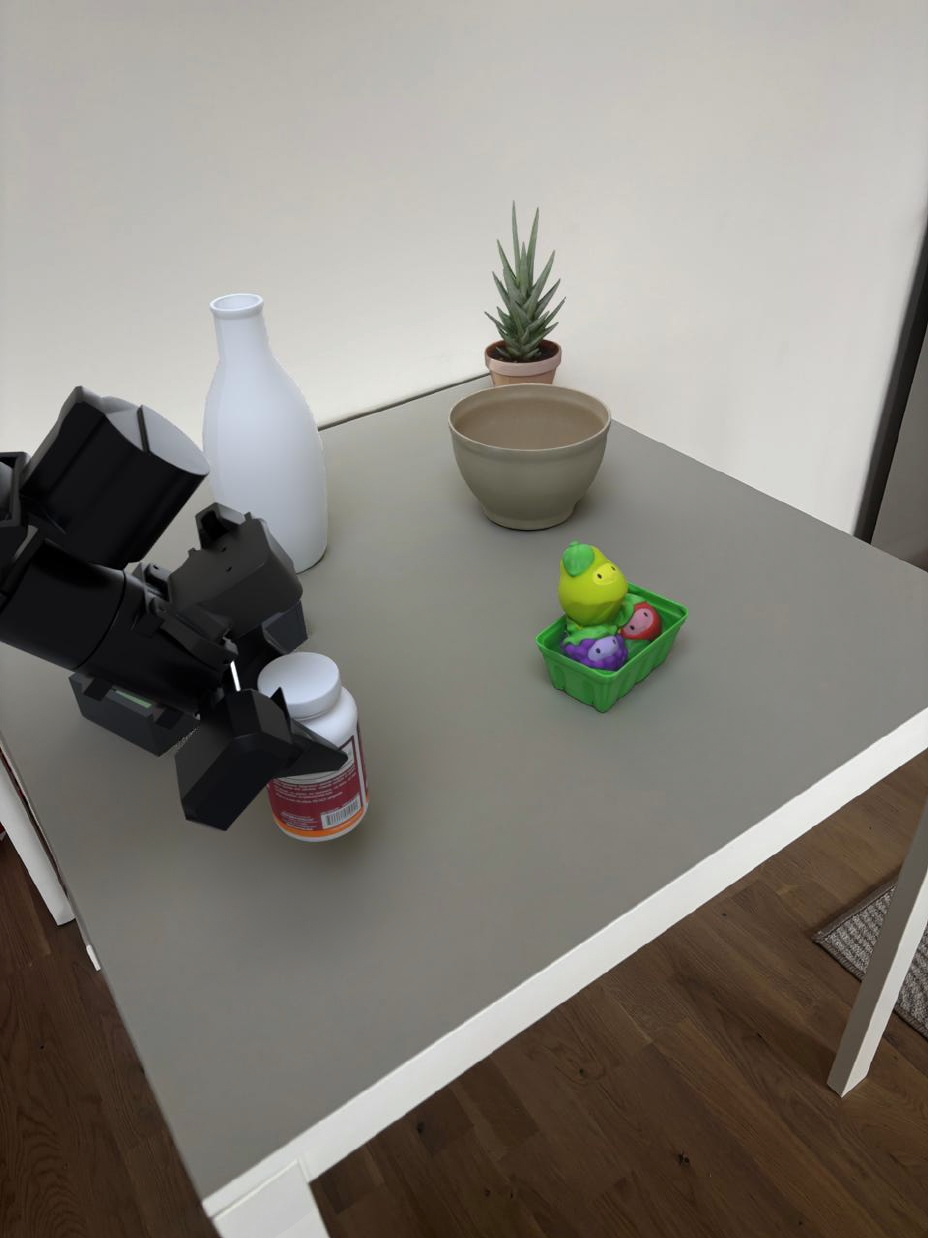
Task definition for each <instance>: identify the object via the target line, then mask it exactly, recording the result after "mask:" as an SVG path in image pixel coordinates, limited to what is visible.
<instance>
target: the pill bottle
mask: <svg viewBox="0 0 928 1238" xmlns="http://www.w3.org/2000/svg"><path fill="white" fill-rule="evenodd" d="M337 665H338V664H336V663H335V661H333V660H332V658H330V657H328V656H326V655H323V654H321V653H318V652H310V651H300V652H292V653H289V654H288V655H284V656H282V657H279V658H277V659H275V660H273V661H272V662H270V663H269V664H268V665H267V666H265V667H264V669H263V670H262V671H261V673H260V675H259V678H258V690H259V692H260V693H262V694H264V695H266V696H268V697H269V698H270V697H271V696H272V695H273V694H274V692H275V691H276V690H277V689H278V688H279V687H281V688H282V689H283V693H284V696H285V699H286V703H287V706H288V709H289V713H290V716H291V718H293V719H294V720H296V721H297V722H299V723H301V724H302V725H304V726H306V727H307V728H309V729H310V730H312V731H314V732H315V733H317V734H319V735H320V736H322V737H324V738H325V739H327V740H328V741H330V742H332V743H333V744H334V745H336V746H337V747H339V748H340V749H341V750H343V751H344V752H346V753H347V755H348V761H347V762H346V763H345V764H344V765H343V766H342V767H341V769H339V770H337V771H331V772H323V773H316V774H308V775H300V776H292V777H284V778H278V779H272V780H270V782H269V783H268V784H267V785H266V786H265V787H266V790H267V796H268V799H269V806H270V809H271V813H272V816H273V819H274V821H275V823H276V824H277V826H278V827H279V829H280V830H281V831H282V832H283V833H284V834H285V835H287V836H289V837H291V838H292V839H297V840H299V841H302V842H303V841H304V842H313V843H315V842H317V843H318V842H319V843H320V842H325V841H326V842H327V841H330V840H335V839H337V838H339V837H341V836H344V835H346V834H347V833H349V832H350V831H352V830H354V828H356V827H357V826H358V825H359V824H360V823H361V821H363V818H364V816H365V815H366V813H367V810H368V807H369V802H370V795H369V794H370V793H369V785H368V783H369V782H368V775H367V770H366V763H365V762H366V761H365V755H364V749H363V748H364V747H363V743H362V742H363V741H362V735H361V734H362V733H361V728H360V727H361V726H360V720H359V719H360V718H359V713H358V708H357V703H356V700H355V699H354V697H353V695H352V694H351V693H350V692H349V690H348V689H347V688H346V687H344V686H343V685H342V680H341V675H340V669H339V667H338V666H337Z"/></svg>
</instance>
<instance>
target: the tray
mask: <svg viewBox="0 0 928 1238" xmlns="http://www.w3.org/2000/svg"><path fill="white" fill-rule="evenodd" d="M262 627H263V628H264V629H265V630H266V631H267V632H268V633H269V634H270V635H271V636H272V637H273V638H274V639H275V640H276V641H277V642H278V643H279V644H280V645H281V646H282V647H283V648H284V649H285V650H286V651H287V652H288V653H289V654H291V652H292V651H293V650H295V649H296V648H297V647H298V646H300V645H301V644H302V643H303V642H305V641H306V640H307V639H308V633H307V632H308V631H307V627H306V621H305V613H304V608H303V604H302V600H301V599H300V600H299V601H298V603H297V604H296V605H295V606H294V607H292V608H291V609H289V610H288V611H286V612H284V613H277V614H275V615H274V616H272V617H271V618H269V619H268V620H266V621H264V622H263V623H262ZM68 681H69V683H70V686H71V689H72V692H73V695H74V697H75V700H76V703H77V705H78V708H79V710H80V714H81V716H82V717H83V718H86V719H87V720H89V721H91V722H93V723H95V724H97V725H98V726H100V727H103V728H104V729H106V730H107V731H110V732H111V733H113V734H115V735H117V736H119V737H121V738H122V739H125V740H126V741H129V742H130V743H132V744H134V745H136V746H137V747H140V748H142V749H143V750H145V751H147V752H149V753H151V754H153V755H154V756H157V757H160V756H162V755H163V754H165V752H167V751H168V750H170V749H171V748H172V747H173V746H175V744H177V743H178V742H179V741H181V740H182V739H183V738H185V736H187V735H188V734H189V733H191V732H192V731H194V729H196V728H197V727H198V726H199V725H200V724H201V722H200V720H198V719H195V718H194V717H193V713H192V714H187V713H184V715H183V716H182V717H181V718H180V720H179V721H178V722H177V723H176V724H175V726H174V727H173V728H172V729H171V730H169V729H167V728H164V727H162V726H159V725H157V724H154V718H153V710H152V705H151V704H149V703H146V702H144V701H142V700H139V699H137V698H134V697H132V696H130V695H127V694H125V693H122V692H120V691H118V690H115V689H113V688H111V689H110V690H109V692H108V693H107V694H106V695H105V697H104V698H103V699H102V700H101V702H100V701H98V700H95V699H93V698H90V697H88V696H85V695H83V694H82V675H79V674H77V673H74V672H73V674H71V675H69V676H68Z"/></svg>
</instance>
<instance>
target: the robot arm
mask: <svg viewBox="0 0 928 1238" xmlns="http://www.w3.org/2000/svg"><path fill="white" fill-rule="evenodd" d="M210 469H211V466H210V463H209V461H208V460H207V458H206V456H205V455H204V453H203V450H201V448H200V447H199V446H198V445H197V443H195V441H193V440H192V439H191V438H190V437H189V436H188V435H187V434H186V433H185V432H184V431H183V430H181V429H180V428H179V427H178V426H176V425H175V424H174V423H173V422H171V421H170V420H169V419H167V418H166V417H164V416H163V415H161V414H160V413H158V412H157V411H156V410H154V409H152V408H151V407H149V406H147V405H146V404H141V405H137V404H135V403H133V402H130V401H128V400H125V399H123V398H120V397H117V396H112V395H111V396H110V395H108V396H103V397H102V396H101V395H98V394H97V393H95V392H93V391H92V390H90V389H89V388H87V387H86V386H84V385H77V386H75V387H74V388H73V389H72V391H71V392H70V394H69V395H68V396H67V398H66V399H65V401H64V402H63V404H62V406H61V408H60V410H59V413H58V417H57V419H56V421H55V423H54V425H53V426H52V428H51V429H50V430H49V432H48V433H47V435H46V436H45V438H44V439H43V440H42V441H41V443H40V445H39V446H38V447H37V449H36V450H35V451H34V453H33V455H30V454H29V453H28V452H26V451H0V642H1V643H3V644H5V645H8V646H10V647H12V648H15V649H16V650H20V651H21V652H24V653H27V654H29V655H31V656H34V657H36V658H39V659H41V660H44V661H45V662H47V663H51V664H53V665H55V666H58V667H59V668H63V669H66V670H67V671H70V672H72V673H73V674H74V673H77V674H79V675H82V694H83V695H85V696H88V697H90V698H93V699H95V700H98V701H100V702H101V700H102V699H103V698H104V697H105V695H106V694H107V693H108V692H109V690H110V689H111V688H113V689H115V690H118V691H120V692H122V693H125V694H127V695H130V696H132V697H134V698H137V699H139V700H142V701H144V702H146V703H149V704H151V705H152V710H153V718H154V724H157V725H159V726H162V727H164V728H167V729H169V730H171V729H172V728H173V727H174V726H175V724H176V723H177V722H178V721H179V720H180V718H181V717H182V716H183V715H184V713H187V714H192V713H193V717H194V718H195V719H198V720H200V722H201V724H199V725H198V726H197V727H196V728H195V730H193V732H192V733H191V734H190V735H189V736H188V738H187V739H186V740H185V741H184V743H183V744H182V745H181V746H180V748H179V749H178V750H177V751H176V753H175V754H174V755H173V758H174V766H175V771H176V779H177V786H178V792H179V800H180V804H181V808H182V811H183V814H184V818H185V820H186V821H188V822H191V823H193V824H197V825H200V826H203V827H206V828H208V829H212V830H214V831H217V832H227V831H228V830H229V828H230V827H231V826H232V825H233V824H234V823H235V822H236V821H237V819H238V818H240V816H241V815H242V814H243V812H244V811H245V810H246V809H247V808H248V807H249V806H250V804H251V803H253V801H254V800H255V799H256V797H257V796H259V794H261V792H262V791H263V790H264V788H265V787H266V785H267V784H268V783H269V782H270V780H272V779H278V778H284V777H292V776H300V775H308V774H316V773H323V772H331V771H337V770H339V769H341V767H342V766H343V765H344V764H345V763H346V762H347V761H348V755H347V753H346V752H344V751H343V750H341V749H340V748H339V747H337V746H336V745H334V744H333V743H332V742H330V741H328V740H327V739H325V738H324V737H322V736H320V735H319V734H317V733H315V732H314V731H312V730H310V729H309V728H307V727H306V726H304V725H302V724H301V723H299V722H297V721H296V720H294V719H293V718H291V716H290V713H289V709H288V706H287V703H286V699H285V696H284V693H283V689H282V688H281V687H279V688H278V689H277V690H276V691H275V692H274V694H273V695H272V696H271V697H270V698H269V697H268V696H266V695H264V694H262V693H260V692H259V690H258V678H259V675H260V673H261V671H262V670H263V669H264V667H265V666H267V665H268V664H269V663H270V662H272V661H273V660H275V659H277V658H279V657H282V656H284V655H288V654H290V653H288V652H287V651H286V650H285V649H284V648H283V647H282V646H281V645H280V644H279V643H278V642H277V641H276V640H275V639H274V638H273V637H272V636H271V635H270V634H269V633H268V632H267V631H266V630H265V629H264V628H263V627H262V623H263V622H264V621H266V620H268V619H269V618H271V617H272V616H274V615H275V614H277V613H284V612H286V611H288V610H289V609H291V608H292V607H294V606H295V605H296V604H297V603H298V601H299V600H300V601H301V598H302V597H303V593H304V588H303V585H302V583H301V582H300V580H299V577H298V573H296V572H295V569H294V566H293V565H294V564H293V561H292V559H291V558H290V557H289V556H288V554H287V553H286V552H285V551H284V549H283V548H282V547H281V546H280V544H279V543H278V542H277V541H276V539H275V538H274V537H273V535H272V534H271V533H270V532H269V529H268V526H267V523H266V521H265V520H264V519H262V518H255V517H254V516H253V514H252V513H251V512H250V511H249V512H248V513H246V514H242V513H241V512H238V511H236V510H234V509H231V508H229V507H227V506H225V505H222V504H220V503H218V502H214V501H213V503H211V504H209V505H208V506H206V507H205V508H204V509H202V510H199V512H197V513H195V515H194V519H195V524H196V530H197V536H198V541H199V546H200V549H196V548H195V547H194V546H193V547H192V548H190V549H188V550H187V555H188V556H187V558H186V560H185V561H184V562H183V563H182V565H180V566H179V567H178V568H176V569H175V570H174V571H172V570H169V569H167V568H164V567H162V566H160V565H158V564H156V563H154V562H149V563H148V564H145V563H143V562H141V561H142V560H143V559H145V558H146V556H147V555H148V554H149V552H150V551H151V549H152V548H153V547H154V546H155V545H156V544H157V542H158V541H159V540H160V538H161V536H162V535H163V534H164V533H165V532H166V530H167V529H168V528H169V526H171V524H172V522H173V521H174V520H175V518H176V517H177V516H178V515H179V513H180V512H181V511H182V510H183V508H184V507H185V505H186V504H187V503H188V502H189V500H190V499H191V498H192V497H193V495H194V494H195V492H196V491H198V488H200V486H201V485H202V483H203V482H204V481H205V480H206V478H207V475H208V474H209V473H210ZM134 563H138V564H137V565H136V567H135V568H134V569H133V570H132V572H129V571H127V570H125V569H126V568H127V567H128V565H129V564H134Z"/></svg>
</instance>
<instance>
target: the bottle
mask: <svg viewBox="0 0 928 1238" xmlns="http://www.w3.org/2000/svg"><path fill="white" fill-rule="evenodd" d="M263 309H264V299H263V297H262V296H260V295H258V294H255V293H242V292H241V293H232V294H226V295H223V296H220V297H217V298H215V299H213V300H212V301H211V302H209V310H210V312H211V313H212V315H213V322H214V329H215V335H216V343H217V351H218V357H219V360H218V362H217V364H216V368H215V371H214V374H213V376H212V379H211V381H210V385H209V388H208V391H207V393H206V396H205V402H204V411H203V421H202V432H201V437H202V439H201V441H202V452H203V453H204V455H205V456H206V458H207V460H208V461H209V463H210V466H211V469H210V473H209V474H208V475H207V477H206V478H207V482H208V485H209V489H210V492H211V496H212V500H213V503H214V502H218V503H220V504H222V505H225V506H227V507H229V508H231V509H234V510H236V511H238V512H241V513H242V514H246V513H248V512H249V511H250V512H251V513H252V514H253V516H254V517H255V518H262V519H264V520H265V521H266V523H267V526H268V529H269V532H270V533H271V534H272V535H273V537H274V538H275V539H276V541H277V542H278V543H279V544H280V546H281V547H282V548H283V549H284V551H285V552H286V553H287V554H288V556H289V557H290V558H291V559H292V561H293V564H294V565H293V566H294V569H295V572H296V574H299V573H302V572H304V571H306V570H307V569H310V568H311V567H313V566H314V565H316V563H318V562H319V561H320V560H321V559H322V557H323V555H324V553H325V551H326V549H327V546H328V544H327V543H328V510H329V509H328V508H329V505H328V504H329V502H328V489H327V479H326V468H325V467H326V466H325V457H324V448H323V443H322V442H323V441H322V439H321V435H320V432H319V429H318V426H317V422H316V419H315V416H314V413H313V412H312V409H311V407H310V405H309V402H308V401H307V399H306V397H305V396H304V395H305V394H304V393H303V391H302V389H301V387H300V385H299V384H298V383H297V382H296V381H295V379H294V378H293V376H292V375H291V374H290V373H289V372H288V371H287V369H286V368H285V367H284V365H283V364H282V363H281V361H280V360H279V359H278V358H277V356H276V355H275V354H274V353H273V351H272V346H271V342H270V337H269V332H268V328H267V322H266V319H265V314H264V310H263Z"/></svg>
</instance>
